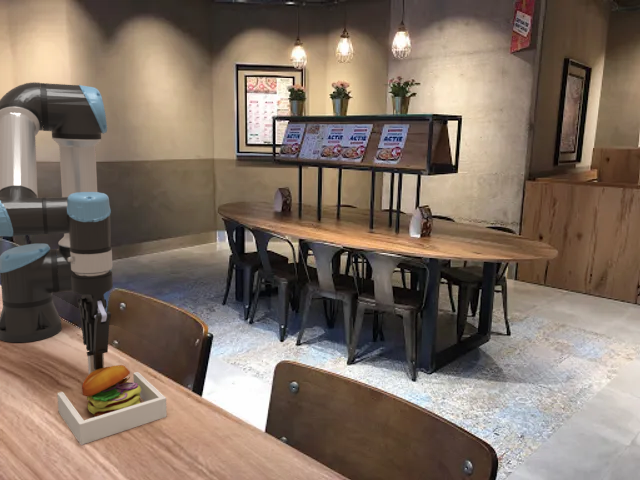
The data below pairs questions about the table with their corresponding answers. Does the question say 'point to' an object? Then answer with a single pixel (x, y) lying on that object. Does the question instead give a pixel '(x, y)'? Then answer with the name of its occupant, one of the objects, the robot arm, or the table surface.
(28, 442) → the table surface
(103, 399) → the cheeseburger
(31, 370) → the table surface
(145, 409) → the box
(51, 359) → the table surface
